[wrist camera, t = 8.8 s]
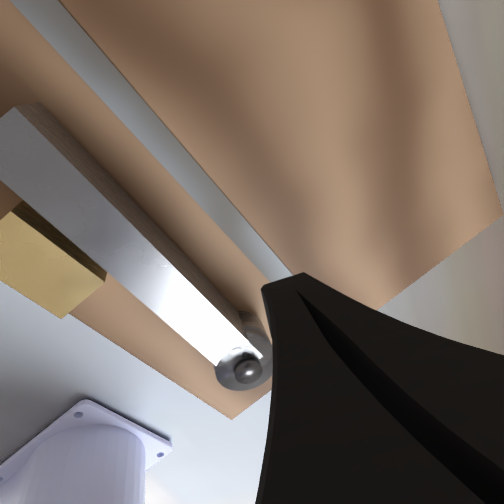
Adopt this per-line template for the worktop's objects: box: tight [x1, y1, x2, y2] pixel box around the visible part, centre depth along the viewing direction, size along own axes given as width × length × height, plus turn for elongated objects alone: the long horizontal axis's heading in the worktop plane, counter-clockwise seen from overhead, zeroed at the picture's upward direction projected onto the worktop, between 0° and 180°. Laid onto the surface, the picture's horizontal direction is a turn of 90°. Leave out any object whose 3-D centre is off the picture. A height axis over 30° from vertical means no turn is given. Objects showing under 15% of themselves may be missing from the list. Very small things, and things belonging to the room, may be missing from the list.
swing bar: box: [0, 102, 273, 391], centre depth 15 cm, size 16×3×3 cm, turn 34°
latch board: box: [0, 0, 503, 420], centre depth 17 cm, size 22×24×2 cm
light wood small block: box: [0, 200, 107, 319], centre depth 14 cm, size 2×4×3 cm, turn 37°
